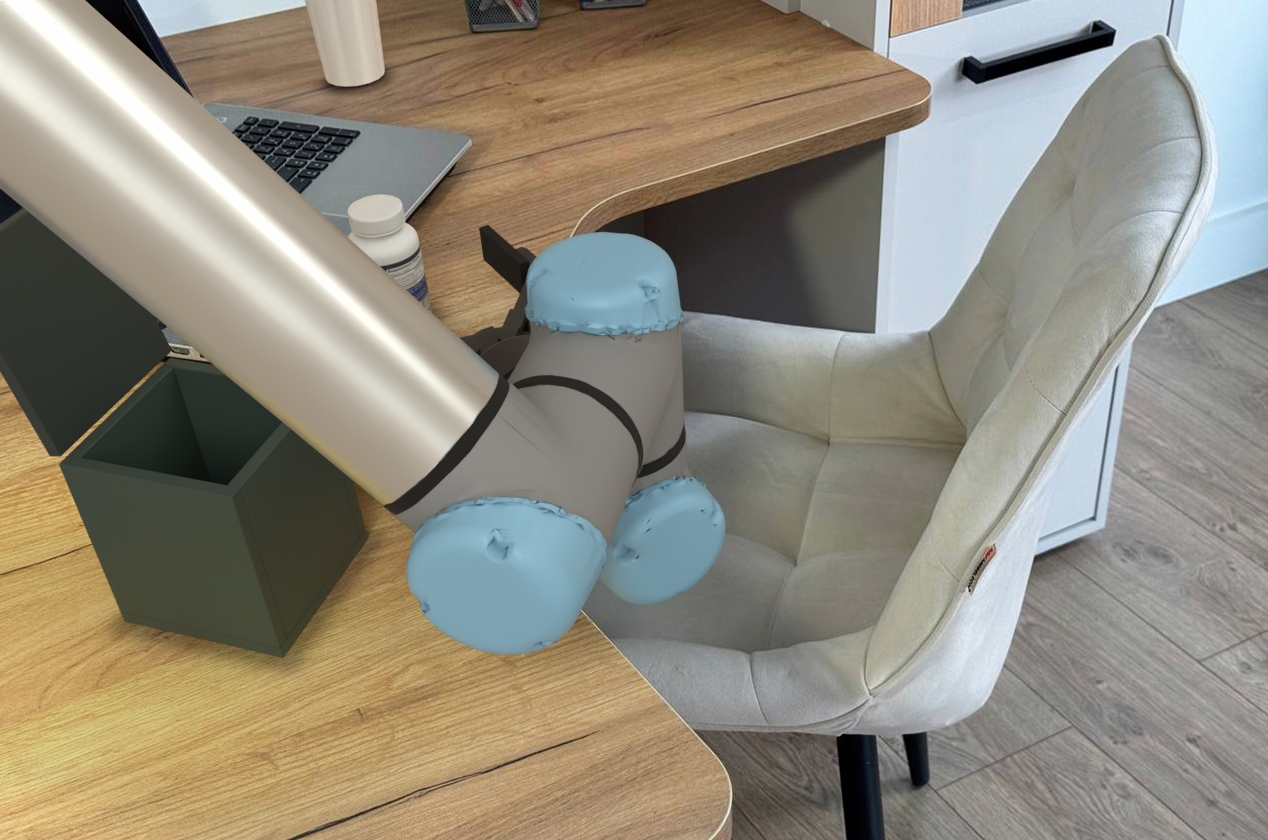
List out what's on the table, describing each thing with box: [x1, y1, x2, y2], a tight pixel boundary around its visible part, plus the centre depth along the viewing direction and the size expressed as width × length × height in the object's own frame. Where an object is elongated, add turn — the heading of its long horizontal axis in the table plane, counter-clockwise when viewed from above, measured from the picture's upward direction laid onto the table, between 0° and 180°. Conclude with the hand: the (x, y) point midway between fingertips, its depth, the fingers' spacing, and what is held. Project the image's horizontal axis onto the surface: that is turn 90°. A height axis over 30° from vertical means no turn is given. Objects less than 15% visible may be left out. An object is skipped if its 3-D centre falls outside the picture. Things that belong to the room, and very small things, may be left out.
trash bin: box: [58, 357, 368, 658], centre depth 75 cm, size 11×10×12 cm
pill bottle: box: [346, 194, 432, 313], centre depth 97 cm, size 5×5×10 cm
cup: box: [304, 0, 386, 88], centre depth 134 cm, size 8×8×14 cm
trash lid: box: [0, 207, 173, 458], centre depth 69 cm, size 11×10×1 cm
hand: (400, 270), depth 94 cm, fingers open, 13 cm apart
